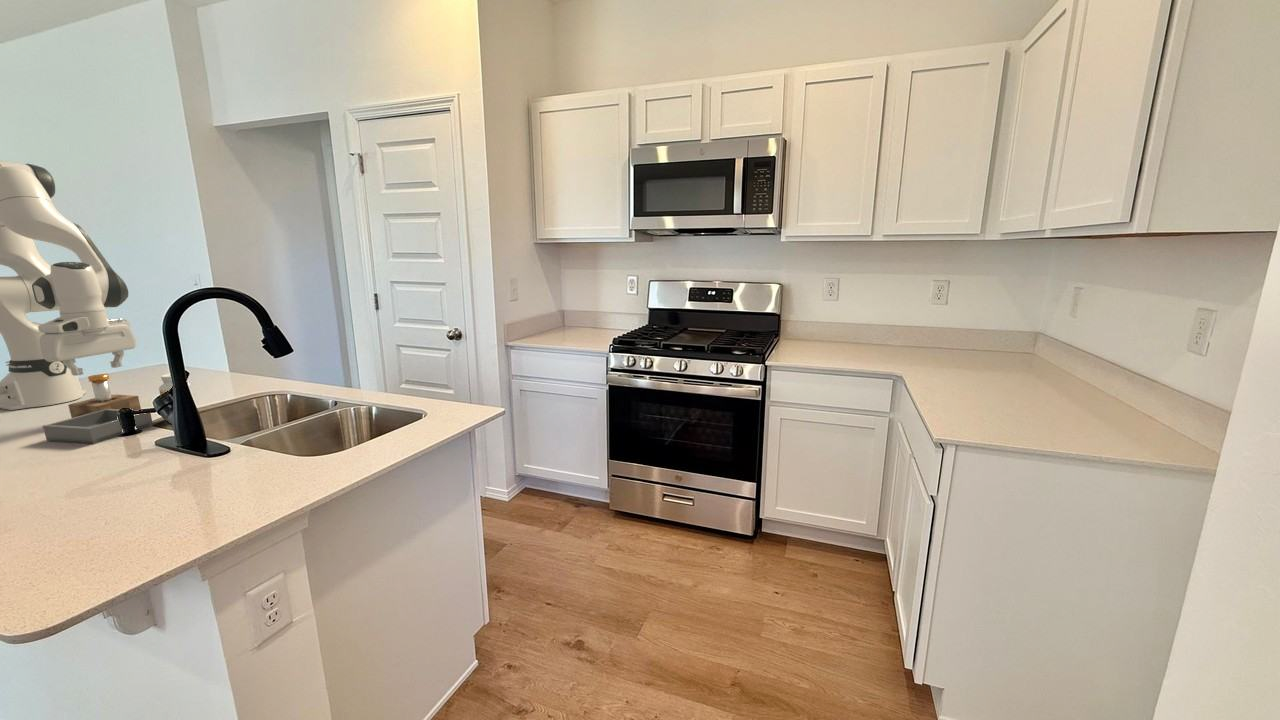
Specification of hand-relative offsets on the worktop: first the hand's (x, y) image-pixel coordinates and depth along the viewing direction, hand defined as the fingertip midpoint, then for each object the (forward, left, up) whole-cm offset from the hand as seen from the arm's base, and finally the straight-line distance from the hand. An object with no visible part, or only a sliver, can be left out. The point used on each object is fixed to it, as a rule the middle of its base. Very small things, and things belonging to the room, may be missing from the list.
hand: (98, 370), depth 145 cm
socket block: (-1, 0, -14) cm, 14 cm away
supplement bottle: (+21, +2, -14) cm, 26 cm away
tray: (+12, -11, -14) cm, 21 cm away
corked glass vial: (-1, 0, -14) cm, 14 cm away
